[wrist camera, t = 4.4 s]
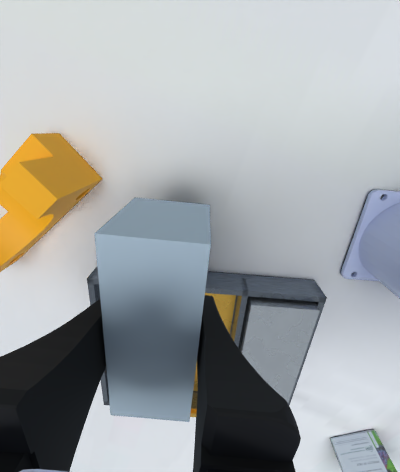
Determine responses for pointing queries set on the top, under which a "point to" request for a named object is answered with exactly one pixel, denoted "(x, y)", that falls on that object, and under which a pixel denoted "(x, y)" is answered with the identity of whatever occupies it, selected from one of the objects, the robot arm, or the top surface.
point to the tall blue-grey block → (153, 304)
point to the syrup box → (362, 453)
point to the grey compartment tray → (258, 324)
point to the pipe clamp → (39, 191)
